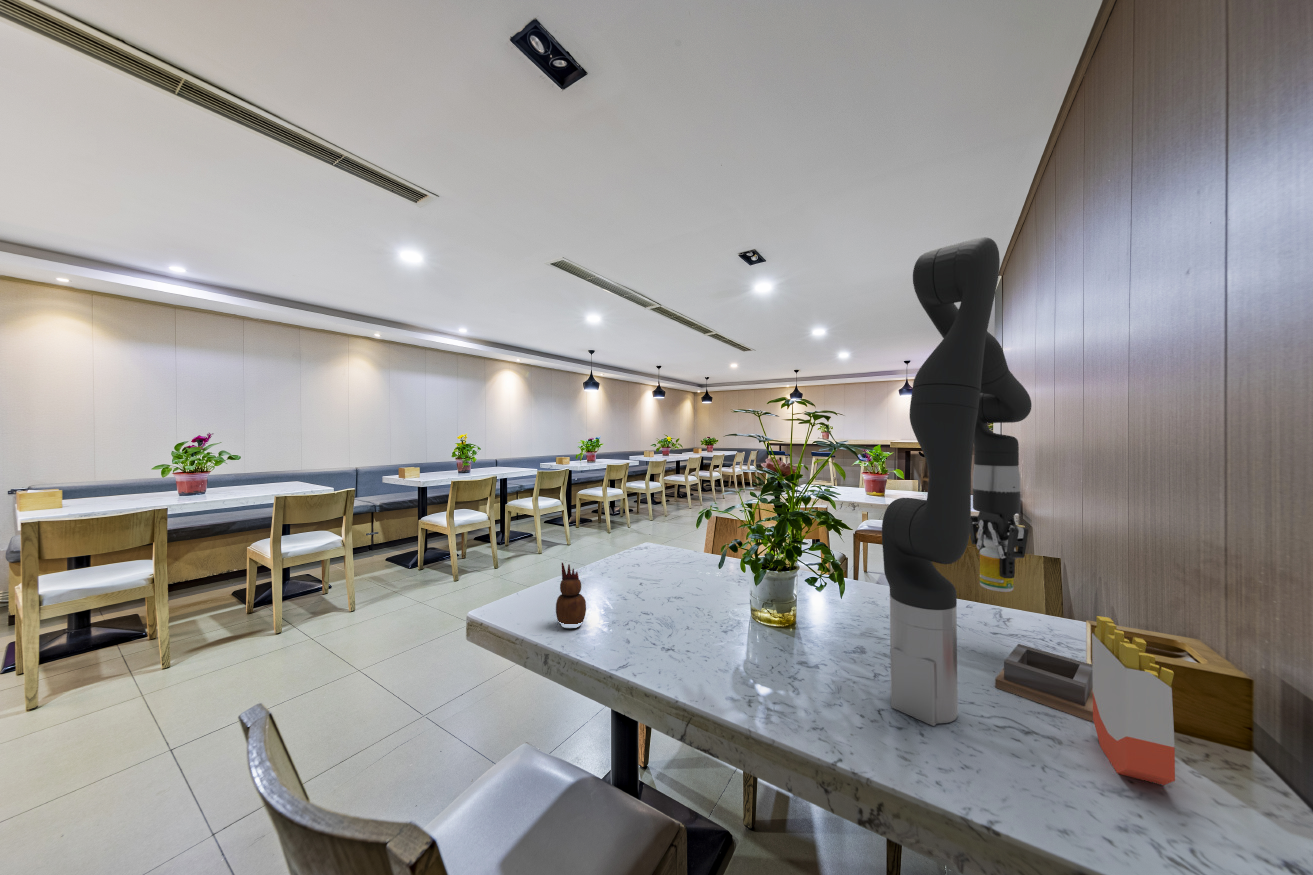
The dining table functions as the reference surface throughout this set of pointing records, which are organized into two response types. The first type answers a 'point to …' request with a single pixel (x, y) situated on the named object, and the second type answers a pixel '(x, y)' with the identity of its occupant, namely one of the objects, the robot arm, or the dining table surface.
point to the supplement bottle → (993, 568)
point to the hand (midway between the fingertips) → (996, 572)
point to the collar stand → (1049, 680)
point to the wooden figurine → (570, 599)
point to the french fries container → (1132, 706)
